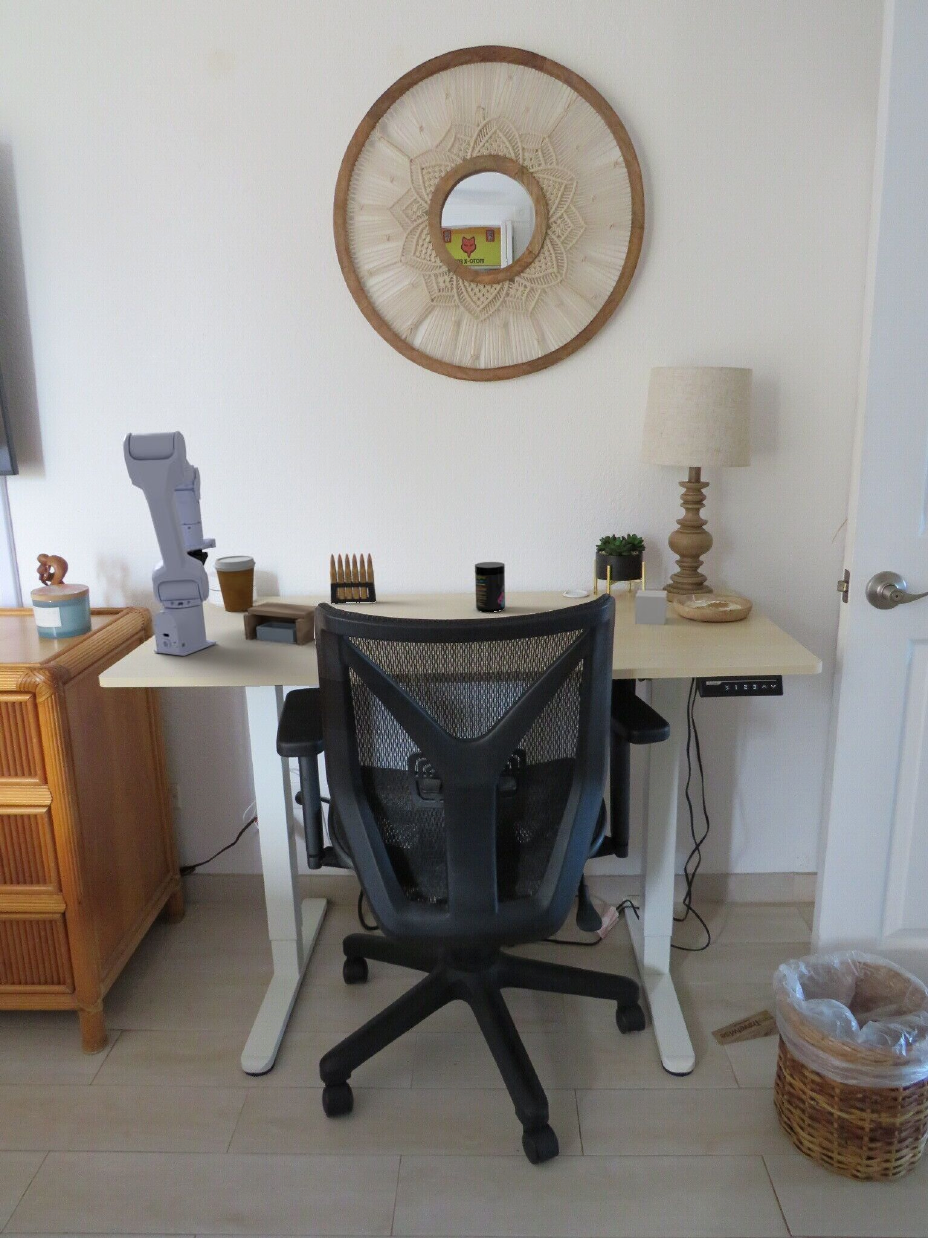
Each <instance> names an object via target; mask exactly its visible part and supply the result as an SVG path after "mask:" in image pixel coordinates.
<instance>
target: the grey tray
mask: <svg viewBox="0 0 928 1238" xmlns="http://www.w3.org/2000/svg"><path fill="white" fill-rule="evenodd" d="M256 629H257V637H256V638H257V639H258V640H259V641H268V642H275V643H276V642H278V643H284V642H286V643H285V644H296V643H297V632H296V623H286V622H276V621H270V622H268V623H265V624H263V625H260V626H257V627H256ZM295 642H296V643H295Z"/></svg>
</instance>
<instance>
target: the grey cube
mask: <svg viewBox="0 0 928 1238" xmlns="http://www.w3.org/2000/svg"><path fill="white" fill-rule="evenodd" d="M667 598H668V590H657V589H656V590H650V589H649V590H648V589H638V590H637V593H636V594H635V600H634V601H635V602H634V603H635V605H634V609H635V612H634V624H639V625H659V626H664V625H665V624H666V621H667V611H668V609H667V606H668V599H667Z"/></svg>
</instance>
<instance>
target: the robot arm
mask: <svg viewBox="0 0 928 1238" xmlns="http://www.w3.org/2000/svg"><path fill="white" fill-rule="evenodd" d="M186 445H187V444H186V440H185V436H184V434H182V433H181V431H180V430H176V431H167V432H144V433H143V432H142V433H141V432H138V433H132V432H127V433H126V434H125V436H124V437H123V443H122V447H123V456H124V463H125V466H126V470H127V472H128V476H129V479H130V481H131V485H133V486H135V487H136V488H138V489H140V490H141V491H142V493H143V496H144V497H145V500H146V503H147V506H148V509H149V513H150V517H151V521H152V524H153V529H154V533H155V535H156V536H155V537H156V539H157V544H158V548H159V551H160V555H161V559H160V560H159V561H157V562H155V564H154V566H153V568H152V572H151V581H152V590H153V597H154V599H155V601H156V602H158V604H160V605H161V607H162V609H161V610H160V611H158V612H157V613H156V614H155V615H154V617H153V629H154V637H155V644H156V646H155V647H156V648H154V649H153V652H154V653H159V654H165V655H166V654H167V655H175V656H182V657H183V656H184V657H185V656H188V655H190V654H193V653H196V652H198V651H200V650H203V649H206V648H208V647H211V646H213V645H216V644H217V641H216V640H211V639H207V633H206V624H205V623H206V622H205V614H204V613H205V612H204V605H203V603H204V602H206V601H207V599H208V598H209V596H210V582H209V576H208V572H207V571H206V570H205V569H206V568H205V564H206V562H207V559H208V557H209V552H208V551H203V550H208V549H215V548H217V544H216V538H212V537H211V538H210V537H208V538H204V532H203V523H202V521H203V520H202V513H201V503H200V500H201V499H202V498H201V473H200V470H199V467H197V466H196V467H195V465H194V464H191V463H190V462H189V460H188V459H187V446H186Z"/></svg>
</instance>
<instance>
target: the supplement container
mask: <svg viewBox="0 0 928 1238" xmlns="http://www.w3.org/2000/svg"><path fill="white" fill-rule="evenodd" d="M505 566H506V565H505V563H503V562H501V561H500V562H499V561H483V562H477V563H476V564H474V579H475V580H474V581H475V583H474V584H475V585H474V587H475V608H476V610H477V611H478V612H480V611H481V612H480V613H484V612H494V611H499V610H503V609H504V610H506V609H505V608H506V576H505V574H506V573H505V572H506V570H505V568H506V567H505ZM504 610H503V611H504Z"/></svg>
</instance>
